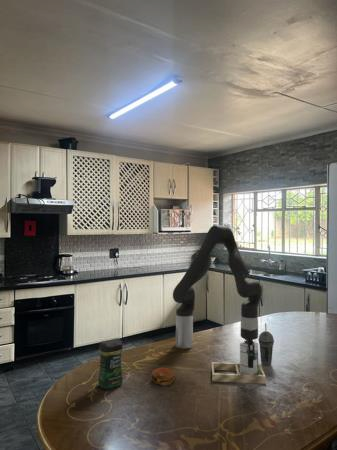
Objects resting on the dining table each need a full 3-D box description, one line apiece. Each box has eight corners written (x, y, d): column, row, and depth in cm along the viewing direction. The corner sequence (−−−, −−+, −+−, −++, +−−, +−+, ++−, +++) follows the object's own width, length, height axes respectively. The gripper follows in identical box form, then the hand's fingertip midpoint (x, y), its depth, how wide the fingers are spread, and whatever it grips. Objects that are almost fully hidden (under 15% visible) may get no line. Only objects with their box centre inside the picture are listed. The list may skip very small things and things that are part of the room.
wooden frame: (212, 381, 146) (212, 374, 146) (211, 368, 159) (211, 362, 159) (265, 383, 144) (265, 376, 144) (260, 370, 157) (260, 364, 157)
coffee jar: (104, 392, 137) (104, 345, 137) (95, 384, 143) (95, 340, 143) (125, 385, 143) (125, 340, 143) (116, 378, 149) (116, 335, 149)
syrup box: (250, 379, 147) (250, 345, 147) (239, 375, 152) (239, 342, 152) (258, 376, 151) (258, 342, 151) (247, 371, 156) (247, 339, 156)
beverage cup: (275, 363, 166) (275, 321, 166) (273, 368, 159) (272, 325, 160) (259, 360, 169) (259, 319, 169) (257, 366, 163) (256, 323, 163)
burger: (172, 375, 153) (172, 364, 153) (176, 384, 144) (176, 373, 144) (150, 377, 151) (150, 366, 151) (153, 387, 142) (153, 375, 142)
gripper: (238, 321, 159) (238, 357, 159) (242, 331, 145) (242, 370, 145) (255, 322, 158) (255, 357, 158) (260, 331, 144) (260, 370, 144)
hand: (249, 363), depth 151 cm, fingers closed on syrup box, 8 cm apart
